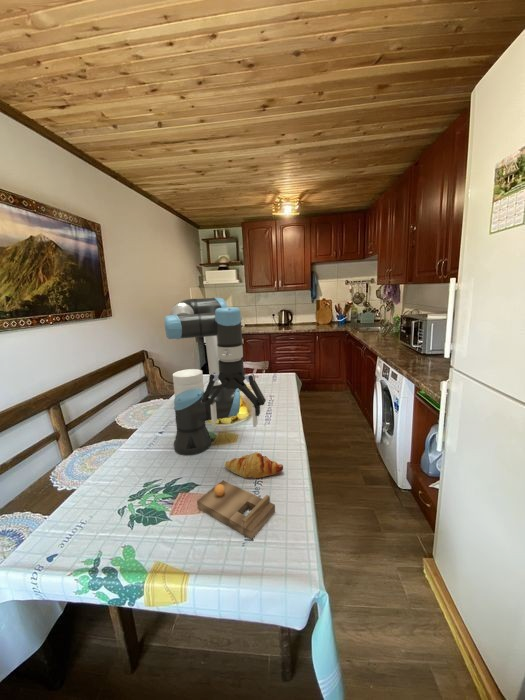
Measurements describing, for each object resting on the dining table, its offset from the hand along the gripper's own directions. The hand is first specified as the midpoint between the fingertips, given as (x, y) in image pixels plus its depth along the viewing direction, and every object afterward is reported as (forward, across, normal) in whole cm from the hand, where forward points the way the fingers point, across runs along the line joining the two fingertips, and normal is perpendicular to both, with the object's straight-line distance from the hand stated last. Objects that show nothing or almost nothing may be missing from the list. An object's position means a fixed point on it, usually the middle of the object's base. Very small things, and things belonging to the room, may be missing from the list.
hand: (234, 423), depth 91 cm
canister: (+22, -46, +59) cm, 78 cm away
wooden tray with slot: (+21, +3, -12) cm, 24 cm away
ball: (+17, -2, -10) cm, 20 cm away
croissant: (+22, +4, +7) cm, 23 cm away
